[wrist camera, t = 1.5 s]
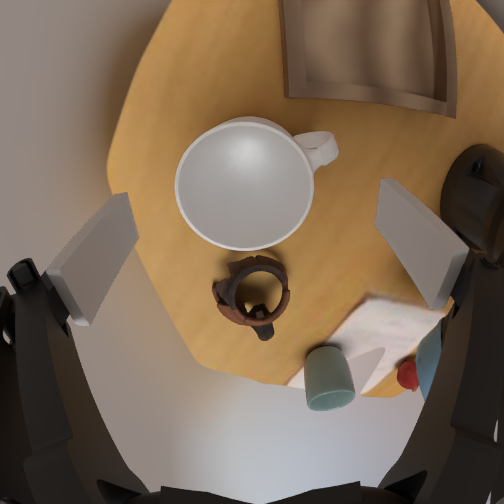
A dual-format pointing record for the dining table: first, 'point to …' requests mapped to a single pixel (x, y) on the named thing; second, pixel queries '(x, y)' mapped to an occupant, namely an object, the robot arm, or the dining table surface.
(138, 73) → the dining table surface
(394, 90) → the tray
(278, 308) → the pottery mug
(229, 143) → the mug
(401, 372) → the onion
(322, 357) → the cup
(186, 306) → the dining table surface
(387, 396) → the dining table surface
